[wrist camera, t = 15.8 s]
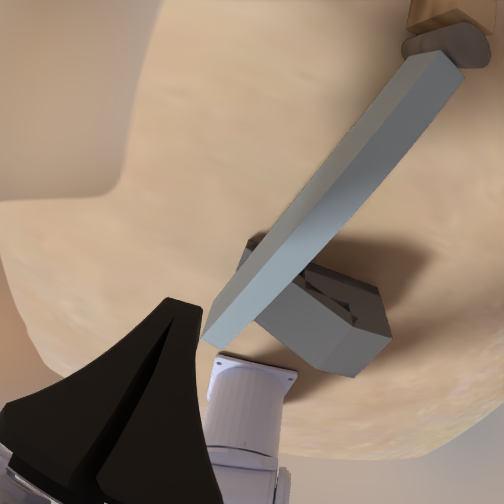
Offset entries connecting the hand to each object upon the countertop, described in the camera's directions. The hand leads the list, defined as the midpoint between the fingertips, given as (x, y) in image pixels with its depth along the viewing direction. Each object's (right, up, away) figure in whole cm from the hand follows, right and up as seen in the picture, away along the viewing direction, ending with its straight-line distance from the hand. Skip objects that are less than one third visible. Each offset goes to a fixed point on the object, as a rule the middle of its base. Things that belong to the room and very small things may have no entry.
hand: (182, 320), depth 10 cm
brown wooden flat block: (+13, +17, -2) cm, 22 cm away
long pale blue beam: (+6, +5, +5) cm, 9 cm away
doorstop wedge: (+6, 0, +10) cm, 12 cm away
